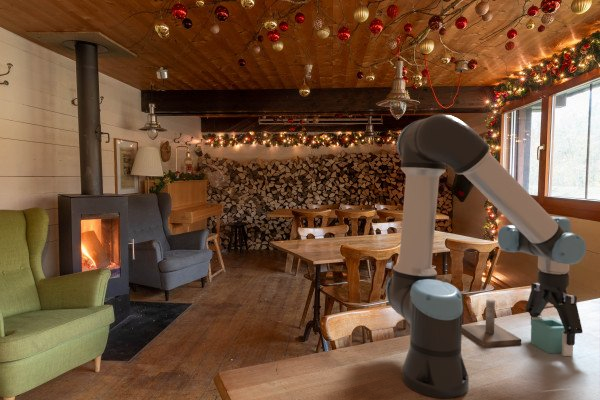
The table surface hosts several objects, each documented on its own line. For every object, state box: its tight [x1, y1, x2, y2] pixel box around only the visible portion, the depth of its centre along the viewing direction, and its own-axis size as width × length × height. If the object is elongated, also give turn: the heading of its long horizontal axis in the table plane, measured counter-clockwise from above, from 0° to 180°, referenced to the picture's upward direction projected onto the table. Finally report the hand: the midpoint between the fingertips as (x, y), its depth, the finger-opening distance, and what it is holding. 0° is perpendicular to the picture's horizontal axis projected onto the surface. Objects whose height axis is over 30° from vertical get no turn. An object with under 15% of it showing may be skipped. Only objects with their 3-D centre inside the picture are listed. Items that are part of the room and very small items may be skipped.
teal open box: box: [530, 317, 570, 354], centre depth 113 cm, size 7×7×7 cm
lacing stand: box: [462, 298, 522, 348], centre depth 119 cm, size 12×12×12 cm
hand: (550, 346), depth 113 cm, fingers open, 11 cm apart
